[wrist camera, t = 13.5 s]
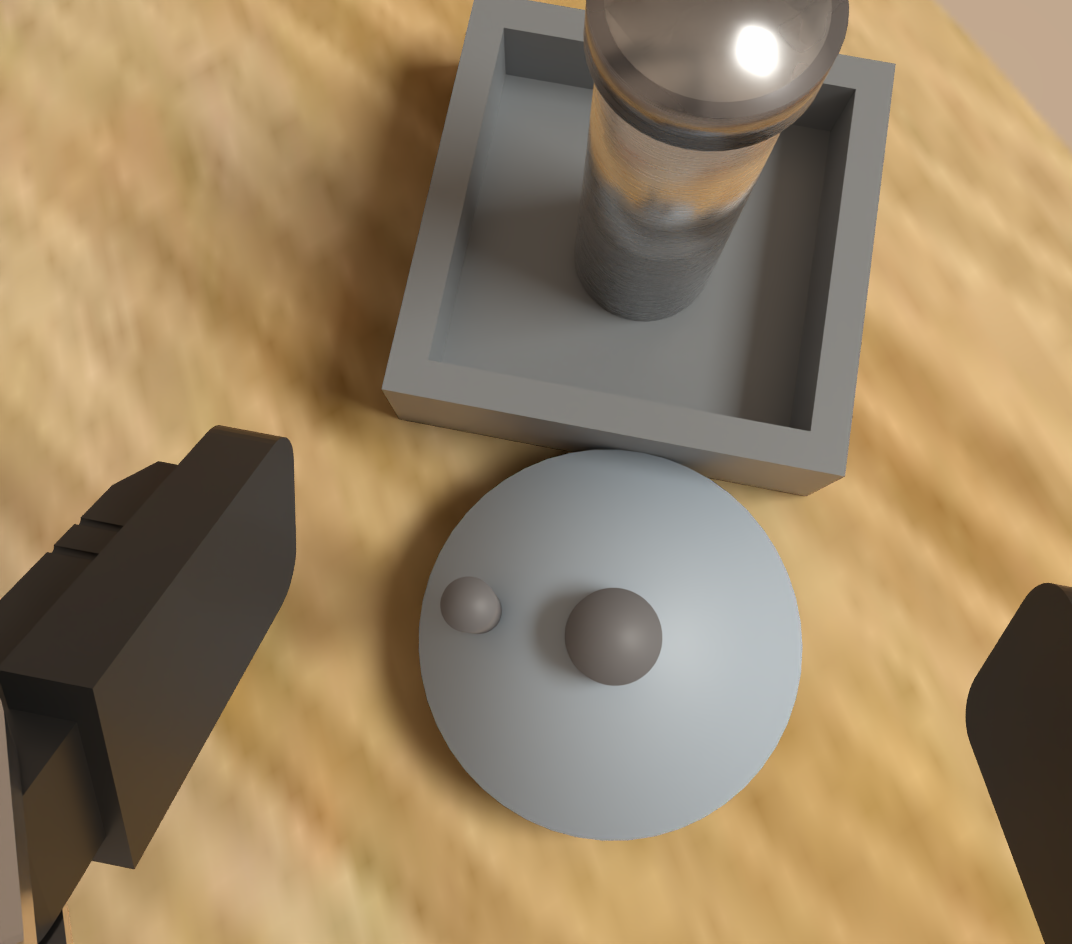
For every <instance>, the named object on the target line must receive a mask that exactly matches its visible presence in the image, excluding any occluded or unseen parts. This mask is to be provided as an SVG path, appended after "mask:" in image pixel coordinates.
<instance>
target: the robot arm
mask: <svg viewBox="0 0 1072 944" xmlns="http://www.w3.org/2000/svg"><path fill="white" fill-rule="evenodd" d="M295 558H296V524H295V489H294V457H293V449H292V445H291V443H290V441H289V440H288V439H287V438H285V437H279V436H274V435H269V434H263V433H258V432H253V431H247V430H242V429H237V428H232V427H226V426H221V425H218V426H214V427H213V428H211V429H210V430H209V431H208V432H207V433H206V434H205V435H204V437H203V438H202V439H201V440H200V441H199V442H198V443H197V444H196V445H195V447H194V448H193V449H192V450H191V451H190V452H189V453H188V454H187V456H186V457H185V458H184V459H183V460H182V461H181V462H180V463H179V465H175V464H170V463H165V462H159V461H158V462H156V463H154V464H152V465H150V466H148V467H146V468H144V469H143V470H141V471H139V472H137V473H135V474H133V475H131V476H129V477H127V478H125V479H123V480H121V481H119V482H117V483H116V484H114V485H112V486H111V487H110V488H109V489H108V490H107V491H106V492H105V493H104V494H103V495H102V496H101V497H100V498H99V499H98V500H97V501H96V502H95V504H94V505H93V506H92V507H91V508H90V509H89V510H88V511H87V512H86V513H85V514H84V515H83V516H82V517H81V521H80V524H79V525H76V524H74V525H73V526H72V527H71V528H70V529H69V530H68V531H67V532H66V533H65V534H64V535H63V536H62V537H61V538H60V539H59V540H58V541H57V542H56V543H55V544H54V550H53V552H52V553H49V552H47V553H46V554H45V555H44V556H43V557H42V558H41V559H40V560H39V561H38V562H37V563H36V564H35V565H34V566H33V567H32V568H31V569H30V570H29V571H28V572H27V573H26V574H25V575H24V576H23V577H22V578H21V579H20V580H19V581H18V582H17V583H16V584H15V585H14V587H13V588H12V589H11V590H10V591H9V592H8V593H7V594H6V595H5V596H4V597H3V598H2V599H1V600H0V944H73V939H72V932H71V924H70V916H69V910H68V906H67V900H68V899H69V897H70V896H71V894H72V892H73V891H74V889H75V887H76V886H77V884H78V882H79V881H80V879H81V877H82V876H83V874H84V873H85V871H86V869H87V868H88V866H89V864H90V863H91V861H96V862H101V863H106V864H111V865H116V866H121V867H126V868H131V869H135V867H136V866H137V864H138V862H139V860H140V859H141V857H142V855H143V853H144V851H145V850H146V848H147V846H148V844H149V842H150V841H151V839H152V837H153V835H154V833H155V832H156V830H157V828H158V826H159V824H160V823H161V821H162V819H163V817H164V815H165V814H166V812H167V810H168V808H169V807H170V805H171V803H172V801H173V799H174V798H175V796H176V794H177V792H178V790H179V789H180V787H181V785H182V783H183V781H184V780H185V778H186V776H187V774H188V772H189V771H190V769H191V767H192V765H193V763H194V762H195V760H196V758H197V756H198V755H199V753H200V751H201V749H202V747H203V746H204V744H205V742H206V740H207V738H208V737H209V735H210V733H211V731H212V729H213V728H214V726H215V724H216V722H217V720H218V719H219V717H220V715H221V713H222V711H223V710H224V708H225V706H226V704H227V702H228V701H229V699H230V697H231V695H232V694H233V692H234V690H235V688H236V686H237V685H238V683H239V681H240V679H241V677H242V676H243V674H244V672H245V670H246V668H247V667H248V665H249V663H250V661H251V659H252V658H253V656H254V654H255V652H256V650H257V649H258V647H259V645H260V643H261V642H262V640H263V638H264V636H265V634H266V633H267V631H268V629H269V627H270V625H271V624H272V622H273V620H274V618H275V616H276V615H277V613H278V611H279V609H280V607H281V606H282V604H283V602H284V599H285V597H286V595H287V592H288V589H289V586H290V583H291V579H292V575H293V571H294V565H295ZM966 728H967V734H968V737H969V741H970V744H971V746H972V749H973V752H974V754H975V757H976V760H977V762H978V765H979V768H980V770H981V773H982V776H983V779H984V781H985V784H986V787H987V789H988V792H989V795H990V797H991V800H992V803H993V805H994V808H995V811H996V813H997V816H998V819H999V821H1000V824H1001V827H1002V829H1003V832H1004V835H1005V838H1006V840H1007V843H1008V846H1009V848H1010V851H1011V854H1012V856H1013V859H1014V862H1015V864H1016V867H1017V870H1018V872H1019V875H1020V878H1021V880H1022V883H1023V886H1024V889H1025V891H1026V894H1027V897H1028V899H1029V902H1030V905H1031V907H1032V910H1033V913H1034V915H1035V918H1036V921H1037V923H1038V926H1039V929H1040V931H1041V934H1042V937H1043V939H1044V942H1045V944H1072V587H1068V586H1062V585H1057V584H1052V583H1043V584H1041V585H1038V586H1037V587H1035V588H1034V589H1033V590H1032V591H1031V592H1030V593H1029V594H1028V595H1027V596H1026V598H1025V599H1024V601H1023V602H1022V604H1021V605H1020V607H1019V609H1018V610H1017V612H1016V613H1015V615H1014V617H1013V618H1012V620H1011V621H1010V623H1009V625H1008V626H1007V628H1006V629H1005V631H1004V633H1003V634H1002V636H1001V637H1000V639H999V641H998V642H997V644H996V645H995V647H994V649H993V650H992V652H991V653H990V655H989V657H988V658H987V660H986V661H985V663H984V664H983V666H982V668H981V669H980V671H979V672H978V674H977V676H976V677H975V679H974V681H973V683H972V685H971V688H970V691H969V694H968V698H967V704H966Z"/></svg>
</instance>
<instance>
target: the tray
mask: <svg viewBox="0 0 1072 944" xmlns="http://www.w3.org/2000/svg"><path fill="white" fill-rule="evenodd" d="M584 20H585V10H581V9H575V8H570V7H564V6H558V5H552V4H547V3H541V2H535V1H529V0H474V3H473V7H472V11H471V15H470V19H469V24H468V28H467V32H466V36H465V40H464V45H463V49H462V53H461V57H460V61H459V66H458V70H457V74H456V78H455V82H454V87H453V91H452V95H451V99H450V104H449V108H448V112H447V116H446V120H445V125H444V129H443V133H442V137H441V141H440V146H439V150H438V154H437V158H436V162H435V167H434V171H433V175H432V179H431V183H430V188H429V192H428V196H427V200H426V204H425V209H424V213H423V217H422V221H421V225H420V230H419V234H418V238H417V242H416V246H415V251H414V255H413V259H412V263H411V268H410V272H409V276H408V280H407V284H406V289H405V293H404V297H403V301H402V305H401V310H400V314H399V318H398V322H397V326H396V331H395V335H394V339H393V343H392V347H391V352H390V356H389V360H388V364H387V368H386V373H385V377H384V381H383V385H382V391H383V392H384V394H385V396H386V398H387V399H388V401H389V403H390V404H391V406H392V408H393V409H394V411H395V413H396V414H397V416H398V418H399V419H401V420H407V421H412V422H417V423H422V424H428V425H433V426H438V427H444V428H449V429H454V430H459V431H465V432H470V433H475V434H481V435H486V436H491V437H496V438H502V439H507V440H512V441H518V442H523V443H528V444H533V445H539V446H544V447H549V448H554V449H560V450H565V451H570V452H581V451H588V450H626V451H634V452H642V453H646V454H650V455H654V456H658V457H662V458H665V459H668V460H671V461H673V462H676V463H678V464H681V465H683V466H686V467H688V468H690V469H692V470H694V471H696V472H697V473H699V474H701V475H703V476H705V477H708V478H713V479H718V480H724V481H729V482H734V483H739V484H745V485H750V486H755V487H761V488H766V489H771V490H776V491H782V492H787V493H792V494H797V495H803V496H808V495H810V494H812V493H814V492H816V491H818V490H820V489H822V488H823V487H825V486H827V485H829V484H831V483H833V482H835V481H837V480H839V479H841V478H843V477H845V471H846V463H847V455H848V446H849V438H850V430H851V422H852V414H853V406H854V398H855V390H856V381H857V373H858V365H859V357H860V349H861V341H862V333H863V324H864V316H865V308H866V300H867V292H868V284H869V276H870V267H871V259H872V251H873V243H874V235H875V227H876V219H877V210H878V202H879V194H880V186H881V178H882V170H883V162H884V153H885V145H886V137H887V129H888V121H889V113H890V105H891V97H892V88H893V80H894V72H895V64H893V63H887V62H881V61H876V60H870V59H864V58H858V57H853V56H847V55H841V54H838V55H837V57H836V59H835V61H834V63H833V65H832V67H831V69H830V71H829V73H828V75H827V77H826V78H825V80H824V82H823V84H822V86H821V88H820V90H819V92H818V93H817V95H816V97H815V99H814V100H813V102H812V103H811V104H810V106H809V107H808V108H807V110H806V111H805V112H804V113H803V114H802V115H801V116H800V117H799V118H798V119H797V120H796V121H795V122H794V123H793V124H792V125H790V126H789V127H787V128H786V129H785V130H783V131H782V132H781V133H780V135H779V137H778V139H777V141H776V143H775V145H774V147H773V149H772V151H771V153H770V155H769V157H768V159H767V161H766V163H765V165H764V167H763V169H762V171H761V173H760V175H759V177H758V180H757V182H756V184H755V186H754V188H753V190H752V192H751V194H750V196H749V198H748V200H747V202H746V204H745V206H744V208H743V210H742V212H741V214H740V216H739V218H738V220H737V222H736V224H735V226H734V229H733V231H732V233H731V235H730V237H729V239H728V241H727V243H726V245H725V247H724V249H723V251H722V253H721V255H720V257H719V259H718V261H717V263H716V265H715V267H714V269H713V271H712V273H711V275H710V278H709V280H708V282H707V284H706V286H705V287H704V289H703V291H702V293H701V294H700V295H699V296H698V298H697V299H696V300H695V301H694V302H693V303H692V304H691V305H690V306H689V307H687V308H686V309H684V310H683V311H681V312H680V313H678V314H676V315H674V316H671V317H668V318H665V319H661V320H656V321H634V320H629V319H625V318H621V317H619V316H616V315H614V314H612V313H610V312H608V311H606V310H605V309H603V308H602V307H601V306H599V305H598V304H597V303H596V302H595V301H594V300H593V299H592V298H591V297H590V296H589V295H588V293H587V292H586V291H585V289H584V287H583V286H582V284H581V282H580V280H579V277H578V274H577V271H576V266H575V245H576V236H577V227H578V218H579V210H580V201H581V192H582V183H583V174H584V165H585V157H586V148H587V139H588V130H589V121H590V112H591V104H592V95H593V86H594V82H593V80H592V77H591V75H590V72H589V69H588V66H587V63H586V59H585V53H584V40H583V32H584Z"/></svg>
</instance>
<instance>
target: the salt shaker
mask: <svg viewBox="0 0 1072 944" xmlns="http://www.w3.org/2000/svg"><path fill="white" fill-rule="evenodd" d="M848 16H849V2H848V0H586V9H585V20H584V32H583V40H584V53H585V59H586V63H587V66H588V69H589V72H590V75H591V77H592V80H593V82H594V86H593V95H592V104H591V112H590V121H589V130H588V139H587V148H586V157H585V165H584V174H583V183H582V192H581V201H580V210H579V218H578V227H577V236H576V245H575V266H576V271H577V274H578V277H579V280H580V282H581V284H582V286H583V287H584V289H585V291H586V292H587V293H588V295H589V296H590V297H591V298H592V299H593V300H594V301H595V302H596V303H597V304H598V305H599V306H601V307H602V308H603V309H605V310H606V311H608V312H610V313H612V314H614V315H616V316H619V317H621V318H625V319H629V320H634V321H656V320H661V319H665V318H668V317H671V316H674V315H676V314H678V313H680V312H681V311H683V310H684V309H686V308H687V307H689V306H690V305H691V304H692V303H693V302H694V301H695V300H696V299H697V298H698V296H699V295H700V294H701V293H702V291H703V289H704V287H705V286H706V284H707V282H708V280H709V278H710V275H711V273H712V271H713V269H714V267H715V265H716V263H717V261H718V259H719V257H720V255H721V253H722V251H723V249H724V247H725V245H726V243H727V241H728V239H729V237H730V235H731V233H732V231H733V229H734V226H735V224H736V222H737V220H738V218H739V216H740V214H741V212H742V210H743V208H744V206H745V204H746V202H747V200H748V198H749V196H750V194H751V192H752V190H753V188H754V186H755V184H756V182H757V180H758V177H759V175H760V173H761V171H762V169H763V167H764V165H765V163H766V161H767V159H768V157H769V155H770V153H771V151H772V149H773V147H774V145H775V143H776V141H777V139H778V137H779V135H780V133H781V132H782V131H783V130H785V129H786V128H787V127H789V126H790V125H792V124H793V123H794V122H795V121H796V120H797V119H798V118H799V117H800V116H801V115H802V114H803V113H804V112H805V111H806V110H807V108H808V107H809V106H810V104H811V103H812V102H813V100H814V99H815V97H816V95H817V93H818V92H819V90H820V88H821V86H822V84H823V82H824V80H825V78H826V77H827V75H828V73H829V71H830V69H831V67H832V65H833V63H834V61H835V59H836V57H837V55H838V54H839V52H840V49H841V46H842V44H843V41H844V39H845V35H846V30H847V26H848Z"/></svg>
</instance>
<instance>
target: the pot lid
mask: <svg viewBox="0 0 1072 944" xmlns="http://www.w3.org/2000/svg"><path fill="white" fill-rule="evenodd" d="M419 657H420V666H421V676H422V680H423V684H424V688H425V692H426V697H427V701H428V704H429V706H430V709H431V711H432V714H433V717H434V719H435V722H436V724H437V727H438V728H439V730H440V732H441V734H442V736H443V738H444V740H445V741H446V743H447V745H448V747H449V749H450V750H451V752H452V753H453V754H454V756H455V757H456V758H457V760H458V761H459V763H460V764H461V765H462V767H463V768H464V769H465V771H466V772H467V773H468V774H469V775H470V776H471V777H472V778H473V779H474V780H475V781H476V782H477V783H478V784H479V785H480V786H481V788H482V789H483V790H485V791H486V792H487V793H488V794H490V795H491V796H492V797H493V798H495V799H496V800H497V801H498V802H500V803H501V804H502V805H503V806H505V807H506V808H508V809H510V810H511V811H513V812H515V813H516V814H518V815H520V816H521V817H523V818H525V819H526V820H529V821H531V822H533V823H536V824H538V825H540V826H543V827H545V828H547V829H550V830H553V831H556V832H560V833H563V834H567V835H571V836H574V837H580V838H587V839H595V840H633V839H640V838H647V837H653V836H657V835H661V834H664V833H667V832H671V831H674V830H677V829H680V828H682V827H685V826H687V825H689V824H691V823H693V822H696V821H698V820H700V819H702V818H704V817H706V816H707V815H709V814H710V813H712V812H713V811H715V810H716V809H718V808H720V807H721V806H723V805H724V804H726V803H727V802H728V801H729V800H730V799H732V798H733V797H734V796H735V795H736V794H737V793H739V792H740V791H741V790H742V789H743V788H744V787H745V786H746V785H747V784H748V783H749V782H750V781H751V780H752V778H753V777H754V776H755V775H756V774H757V773H758V772H759V771H760V769H761V768H762V767H763V765H764V764H765V762H766V761H767V759H768V758H769V757H770V755H771V754H772V752H773V751H774V749H775V748H776V746H777V744H778V742H779V740H780V738H781V736H782V734H783V732H784V730H785V728H786V726H787V723H788V721H789V718H790V715H791V712H792V709H793V706H794V703H795V700H796V695H797V690H798V685H799V680H800V675H801V661H802V636H801V622H800V617H799V612H798V607H797V601H796V597H795V594H794V591H793V588H792V585H791V582H790V579H789V576H788V573H787V571H786V569H785V567H784V564H783V562H782V560H781V558H780V556H779V554H778V552H777V550H776V548H775V547H774V545H773V544H772V542H771V541H770V539H769V538H768V536H767V534H766V533H765V531H764V530H763V528H762V527H761V526H760V525H759V524H758V522H757V521H756V520H755V519H754V518H753V516H752V515H751V514H750V513H749V512H748V510H746V509H745V508H744V507H743V506H742V505H741V504H740V503H739V502H738V501H737V500H736V499H735V498H734V497H733V496H731V495H730V494H729V493H728V492H727V491H725V490H724V489H722V488H721V487H720V486H718V485H717V484H716V483H714V482H713V481H711V480H710V479H708V478H706V477H705V476H703V475H701V474H699V473H697V472H696V471H694V470H692V469H690V468H688V467H686V466H683V465H681V464H678V463H676V462H673V461H671V460H668V459H665V458H662V457H658V456H654V455H650V454H646V453H642V452H634V451H626V450H588V451H581V452H573V453H568V454H564V455H561V456H557V457H553V458H549V459H546V460H544V461H541V462H539V463H537V464H534V465H532V466H529V467H527V468H525V469H523V470H521V471H519V472H518V473H516V474H514V475H512V476H511V477H509V478H507V479H505V480H504V481H502V482H501V483H500V484H498V485H497V486H496V487H495V488H493V489H492V490H491V491H489V492H488V493H487V494H485V495H484V496H483V497H482V498H481V499H480V500H479V501H478V502H477V503H476V504H475V505H474V506H473V507H472V508H471V509H470V510H469V511H468V512H467V513H466V515H465V516H464V517H463V518H462V520H461V521H460V522H459V523H458V525H457V526H456V527H455V529H454V530H453V531H452V533H451V534H450V536H449V538H448V540H447V541H446V543H445V545H444V546H443V548H442V550H441V551H440V553H439V556H438V558H437V560H436V563H435V565H434V567H433V570H432V572H431V574H430V577H429V581H428V584H427V588H426V591H425V595H424V598H423V603H422V610H421V617H420V623H419Z"/></svg>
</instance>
